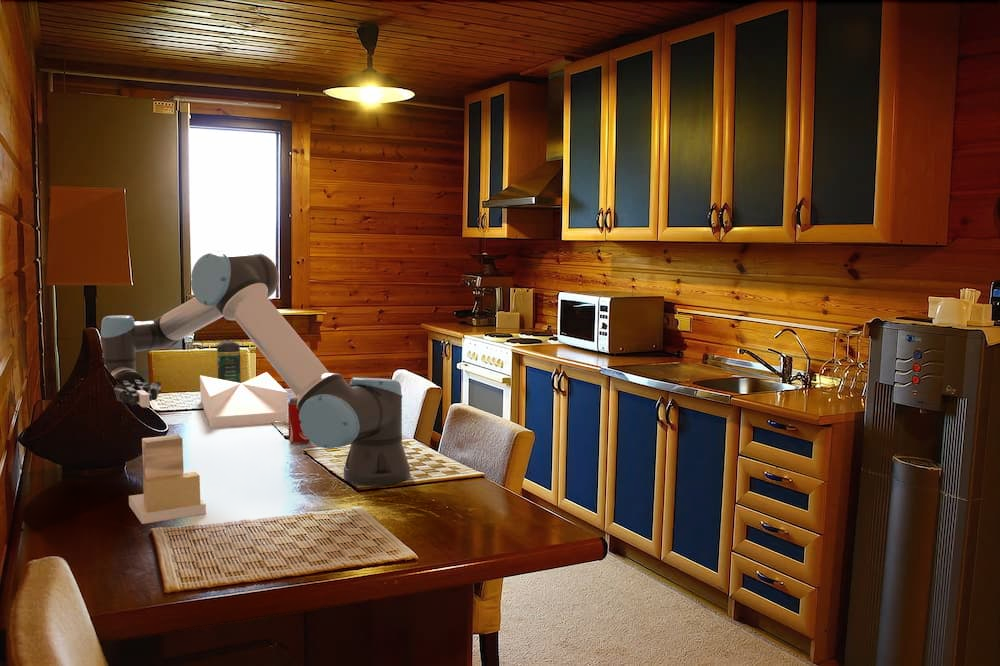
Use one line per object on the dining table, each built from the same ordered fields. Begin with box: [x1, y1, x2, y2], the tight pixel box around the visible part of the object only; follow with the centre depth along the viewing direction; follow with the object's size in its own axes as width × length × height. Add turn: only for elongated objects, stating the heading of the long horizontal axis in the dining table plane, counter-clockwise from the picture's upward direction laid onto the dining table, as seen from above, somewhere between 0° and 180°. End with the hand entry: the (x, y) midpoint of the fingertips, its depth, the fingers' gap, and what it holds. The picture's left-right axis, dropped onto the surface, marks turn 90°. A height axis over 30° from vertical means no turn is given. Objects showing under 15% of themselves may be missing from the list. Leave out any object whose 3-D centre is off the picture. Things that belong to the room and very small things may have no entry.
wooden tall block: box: [141, 434, 185, 479], centre depth 177 cm, size 5×7×12 cm, turn 122°
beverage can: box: [287, 396, 311, 445], centre depth 235 cm, size 6×6×12 cm
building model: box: [199, 371, 288, 428], centre depth 279 cm, size 45×22×10 cm, turn 23°
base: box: [128, 493, 207, 525], centre depth 176 cm, size 14×12×2 cm
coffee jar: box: [216, 340, 242, 383], centre depth 314 cm, size 10×8×19 cm
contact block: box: [142, 471, 201, 513], centre depth 171 cm, size 3×10×6 cm, turn 123°
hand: (145, 400), depth 188 cm, fingers closed
